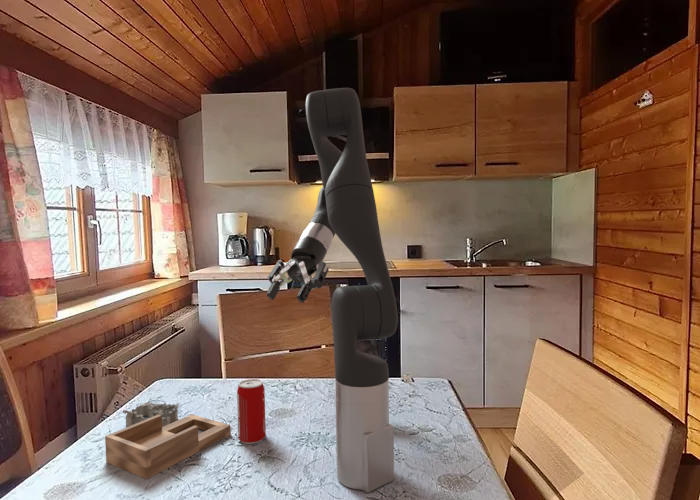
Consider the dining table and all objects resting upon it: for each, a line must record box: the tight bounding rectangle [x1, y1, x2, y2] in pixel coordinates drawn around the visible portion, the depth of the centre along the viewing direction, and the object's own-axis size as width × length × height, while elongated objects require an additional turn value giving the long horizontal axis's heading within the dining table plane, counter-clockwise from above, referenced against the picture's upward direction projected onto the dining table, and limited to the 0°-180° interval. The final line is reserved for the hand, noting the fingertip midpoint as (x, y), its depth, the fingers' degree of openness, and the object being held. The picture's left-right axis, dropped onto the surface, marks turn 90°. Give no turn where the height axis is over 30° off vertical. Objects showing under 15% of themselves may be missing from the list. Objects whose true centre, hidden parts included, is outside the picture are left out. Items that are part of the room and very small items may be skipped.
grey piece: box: [122, 401, 180, 427], centre depth 105 cm, size 11×8×4 cm
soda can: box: [236, 378, 267, 445], centre depth 96 cm, size 6×6×12 cm
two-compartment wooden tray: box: [104, 414, 232, 480], centre depth 93 cm, size 12×20×5 cm, turn 149°
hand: (284, 299), depth 104 cm, fingers open, 8 cm apart
